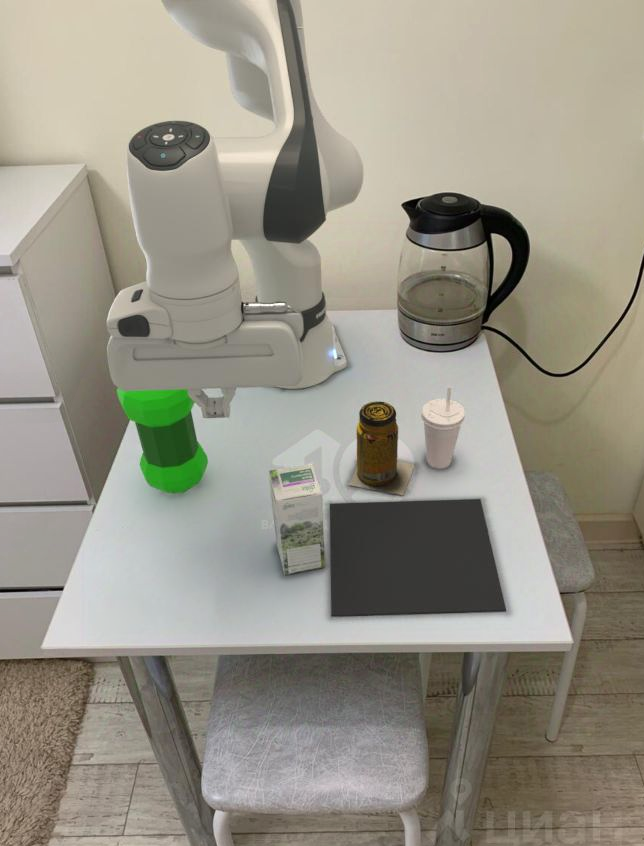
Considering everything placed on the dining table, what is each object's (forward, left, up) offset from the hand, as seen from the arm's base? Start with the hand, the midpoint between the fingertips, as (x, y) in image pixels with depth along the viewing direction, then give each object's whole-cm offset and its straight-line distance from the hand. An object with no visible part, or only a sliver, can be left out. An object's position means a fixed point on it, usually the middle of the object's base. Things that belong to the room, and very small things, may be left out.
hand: (217, 414), depth 82 cm
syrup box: (0, +8, -25) cm, 26 cm away
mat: (0, +23, -25) cm, 34 cm away
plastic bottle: (-16, -11, -25) cm, 32 cm away
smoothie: (-19, +29, -25) cm, 43 cm away
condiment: (-16, +20, -25) cm, 36 cm away
